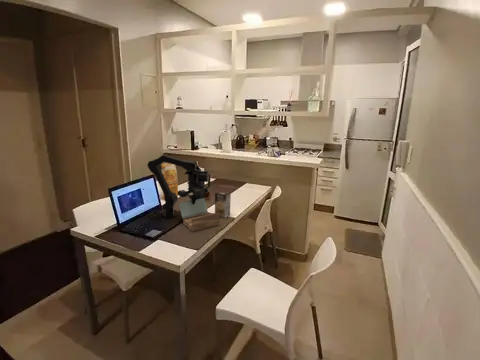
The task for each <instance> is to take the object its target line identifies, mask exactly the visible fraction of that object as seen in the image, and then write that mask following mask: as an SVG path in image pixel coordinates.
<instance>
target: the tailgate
mask: <svg viewBox="0 0 480 360" xmlns="http://www.w3.org/2000/svg"><path fill="white" fill-rule="evenodd" d="M205 199H206V198H205V197H204V198H203V197H202V198H199V199H197V198H196V201H195V204H194V205H193V204H192V202H191V200H188V201H182V202H179V203H178V205H179V209H180V214H181V218H182V220H183V219H186V218H190V217H194V216H199V215H203V214H208V213H209V211H208V208H207V203H206V200H205Z"/></svg>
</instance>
